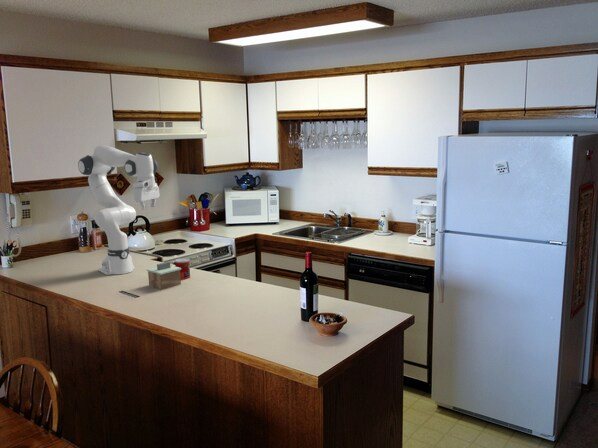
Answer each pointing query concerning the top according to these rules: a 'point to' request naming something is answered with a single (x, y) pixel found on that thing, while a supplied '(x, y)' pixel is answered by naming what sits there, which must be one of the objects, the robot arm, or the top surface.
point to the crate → (164, 279)
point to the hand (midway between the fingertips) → (148, 208)
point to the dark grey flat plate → (129, 294)
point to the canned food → (183, 267)
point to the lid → (163, 268)
